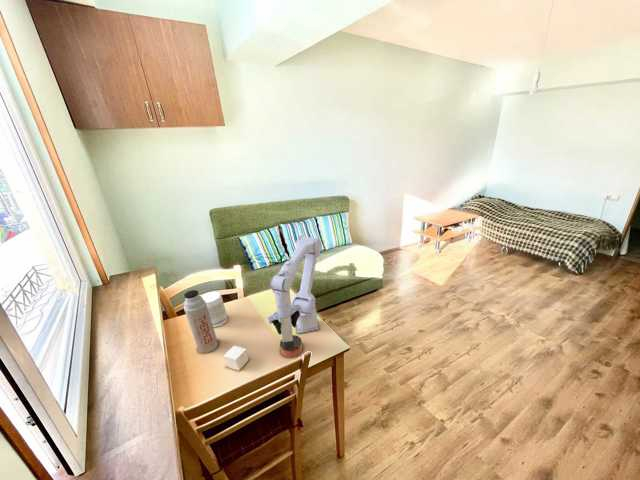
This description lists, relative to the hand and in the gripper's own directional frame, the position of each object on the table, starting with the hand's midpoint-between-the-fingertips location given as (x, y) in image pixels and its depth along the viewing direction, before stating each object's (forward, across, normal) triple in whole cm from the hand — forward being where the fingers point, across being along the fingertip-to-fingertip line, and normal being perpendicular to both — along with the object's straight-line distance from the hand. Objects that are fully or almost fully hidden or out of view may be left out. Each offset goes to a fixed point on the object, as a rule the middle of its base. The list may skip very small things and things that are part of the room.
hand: (286, 329), depth 116 cm
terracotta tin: (+10, 0, +1) cm, 10 cm away
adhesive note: (+11, +20, -7) cm, 24 cm away
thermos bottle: (+11, +26, -25) cm, 38 cm away
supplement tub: (+10, +18, -40) cm, 45 cm away
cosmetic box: (+4, 0, 0) cm, 4 cm away
